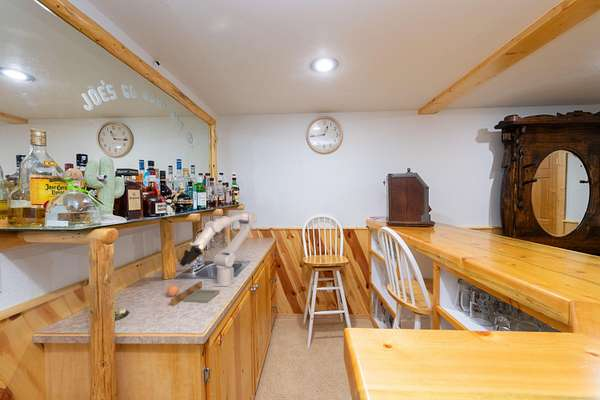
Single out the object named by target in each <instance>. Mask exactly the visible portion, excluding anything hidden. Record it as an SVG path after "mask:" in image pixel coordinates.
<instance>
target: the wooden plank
mask: <svg viewBox="0 0 600 400" xmlns="http://www.w3.org/2000/svg"><path fill="white" fill-rule="evenodd" d="M202 287H203V281H202V280H201V281H198V282H196V283H195V284H193V285H192V286H189V287H188V288H187V289H185V290H183V291H182V292H180V293H178V294H177V295H175V296H172V298H170V304H171V307H175V306H176V305H178V304H179V303H181V302H182V301H183V300H184V299H185V298H186V297H188V296H189V295H191V294H192V293H194V292H195V291H197V290H198V289H202Z"/></svg>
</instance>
